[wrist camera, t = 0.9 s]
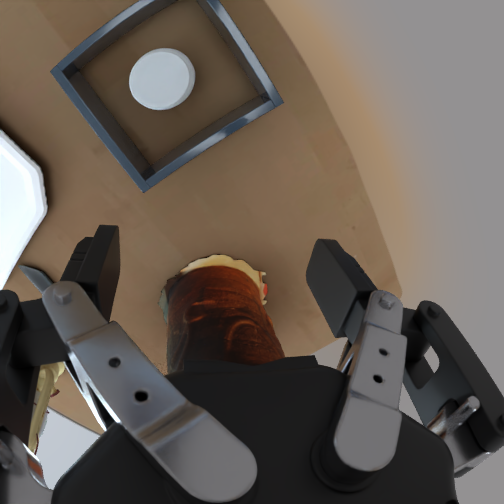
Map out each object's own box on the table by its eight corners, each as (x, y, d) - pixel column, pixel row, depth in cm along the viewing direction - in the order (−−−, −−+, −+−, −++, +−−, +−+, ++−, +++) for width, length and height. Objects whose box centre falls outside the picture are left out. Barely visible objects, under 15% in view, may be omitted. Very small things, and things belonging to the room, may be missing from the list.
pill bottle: (131, 71, 23) (109, 71, 16) (178, 43, 22) (174, 31, 16) (157, 112, 26) (145, 127, 19) (203, 86, 25) (209, 90, 18)
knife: (102, 331, 38) (101, 335, 37) (82, 340, 38) (81, 344, 37) (31, 254, 30) (29, 257, 29) (13, 268, 30) (11, 271, 29)
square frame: (68, 70, 21) (49, 71, 18) (194, -17, 19) (195, -32, 16) (149, 176, 29) (143, 193, 25) (270, 98, 27) (284, 103, 23)
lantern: (41, 383, 42) (20, 542, 17) (0, 348, 36) (-41, 516, 11) (84, 367, 41) (70, 557, 16) (40, 326, 35) (-4, 535, 11)
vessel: (279, 327, 43) (325, 458, 26) (179, 349, 42) (190, 486, 25) (268, 239, 35) (337, 395, 18) (142, 267, 34) (127, 436, 17)
